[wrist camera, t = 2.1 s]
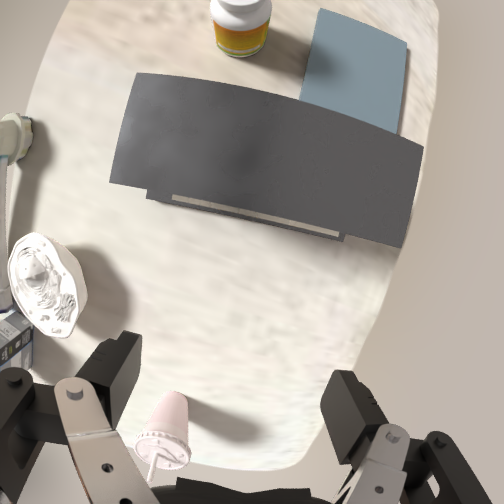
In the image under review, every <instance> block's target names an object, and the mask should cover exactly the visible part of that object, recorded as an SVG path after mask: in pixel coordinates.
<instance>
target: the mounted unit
mask: <svg viewBox="0 0 504 504" xmlns="http://www.w3.org/2000/svg"><path fill="white" fill-rule="evenodd" d="M423 149H424V147H423V146H421V145H419V144H417V143H415V142H413V141H410V140H408V139H406V138H404V137H401V136H399V135H397V134H394V133H392V132H390V131H387V130H385V129H382V128H380V127H377V126H375V125H372V124H370V123H367V122H364V121H362V120H359V119H356V118H353V117H350V116H348V115H345V114H342V113H339V112H336V111H333V110H330V109H327V108H323V107H320V106H317V105H314V104H310V103H307V102H303V101H300V100H296V99H293V98H289V97H285V96H281V95H277V94H273V93H269V92H265V91H261V90H256V89H252V88H247V87H242V86H237V85H232V84H226V83H221V82H215V81H209V80H202V79H195V78H188V77H180V76H171V75H162V74H150V73H137V74H136V77H135V80H134V83H133V86H132V89H131V93H130V96H129V100H128V103H127V107H126V110H125V114H124V118H123V121H122V125H121V129H120V133H119V138H118V142H117V146H116V151H115V155H114V160H113V165H112V170H111V175H110V181H109V183H115V184H120V185H126V186H131V187H137V188H142V189H147V194H146V199H151V200H156V201H161V202H166V203H171V204H176V205H181V206H186V207H191V208H196V209H200V210H205V211H210V212H215V213H219V214H224V215H229V216H233V217H238V218H242V219H247V220H251V221H256V222H260V223H265V224H269V225H273V226H278V227H282V228H286V229H291V230H295V231H299V232H304V233H308V234H312V235H316V236H320V237H324V238H328V239H333V240H337V241H341V242H343V240H344V236H345V234H349V235H353V236H357V237H361V238H364V239H368V240H372V241H376V242H379V243H383V244H387V245H390V246H394V247H397V248H401V247H402V243H403V240H404V236H405V233H406V229H407V225H408V221H409V217H410V213H411V209H412V205H413V200H414V196H415V191H416V187H417V182H418V177H419V172H420V166H421V161H422V155H423Z"/></svg>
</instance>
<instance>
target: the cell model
mask: <svg viewBox="0 0 504 504" xmlns="http://www.w3.org/2000/svg"><path fill="white" fill-rule="evenodd" d="M8 276H9V281H10V285H11V290H12V294H13V296H14V298H15V300H16V302H17V304H18V306H19V307H20V309H21V310H22V312H23V313H24V315H25V316H26V317H27V318H28V320H29V321H30V322H31V323H33V324H34V325H35V326H36V327H37V328H38V329H39V330H40V331H41V332H42V333H43V334H45V335H47V336H50V337H55V338H68V337H69V336H70V335H71V334H72V332H73V329H74V327H75V324H76V322H77V319H78V317H79V315H80V313H81V312H82V310H83V308H84V306H85V304H86V302H87V298H88V295H87V289H86V284H85V281H84V277H83V273H82V269H81V266H80V264H79V262H78V260H77V259H76V258H75V257H74V256H73V255H72V254H71V253H70V252H69V251H68V249H67V248H65V247H64V246H63V245H62V244H60V243H59V242H57V241H56V240H54V239H52V238H50V237H47V236H45V235H42V234H40V233H36V232H32V233H29V234H27V235H26V236H24V237H22V238H21V239H19V240H18V241H17V242H16V244H15V246H14V248H13V251H12V253H11V256H10V258H9V260H8Z"/></svg>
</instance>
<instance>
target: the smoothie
mask: <svg viewBox="0 0 504 504" xmlns="http://www.w3.org/2000/svg"><path fill="white" fill-rule="evenodd" d="M134 451H135V453H136V454H137V456H138V457H139V458H140V459H141V460H143V461H144V462H146V463H147V464H149V465H151V466H150V470H149V474H148V478H147V483H150V484H151V483H152V481H153V477H154V472H155V468H156V467H157V468H160V469H166V470H176V469H180V468H183V467H185V466H187V465H188V463H189V461H190V458H191V450H190V448H189V446H188V400H187V398H186V397H185V396H184V395H182V394H181V393H179V392H175V391H168V392H165V393H163V394H162V396H161V398H160V399H159V401H158V403H157V405H156V407H155V409H154V410H153V412H152V414H151V416H150V418H149V420H148V421H147V423H146V425H145V427H144V429H143V431H142V433H140V434H138V435H137V436H136V438H135V443H134Z"/></svg>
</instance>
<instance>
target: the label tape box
mask: <svg viewBox="0 0 504 504" xmlns="http://www.w3.org/2000/svg"><path fill="white" fill-rule="evenodd" d="M32 336H33V323H31V322H30V321H29V320H28V319H27V318H26V317H25V316H23V315H22V314H20V313H19V312H17V311H15V312H14V313H12V314H11V315H9V316H8V317H7V318H5V319H3V320H2V321H1V322H0V372H1V371H2V370H3V369H6V368H9V367H19V368H23V369H25V370H28V369H29V368H31V367H32Z"/></svg>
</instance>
